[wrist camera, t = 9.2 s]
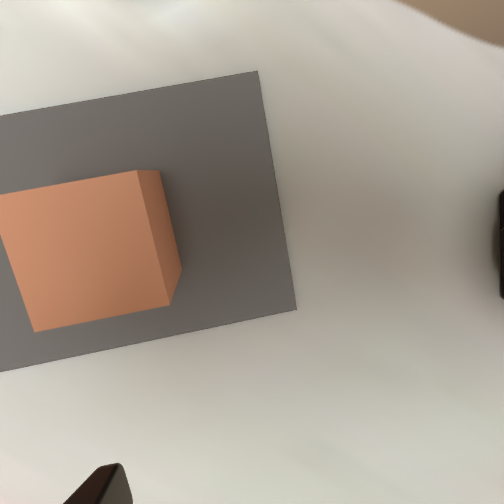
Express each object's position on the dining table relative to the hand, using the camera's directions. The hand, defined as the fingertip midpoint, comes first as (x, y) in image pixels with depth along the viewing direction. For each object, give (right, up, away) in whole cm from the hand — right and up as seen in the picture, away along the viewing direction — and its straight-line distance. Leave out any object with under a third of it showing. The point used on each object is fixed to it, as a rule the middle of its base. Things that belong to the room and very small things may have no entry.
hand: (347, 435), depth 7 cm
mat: (-8, +5, +11) cm, 14 cm away
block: (-8, +5, +10) cm, 14 cm away
